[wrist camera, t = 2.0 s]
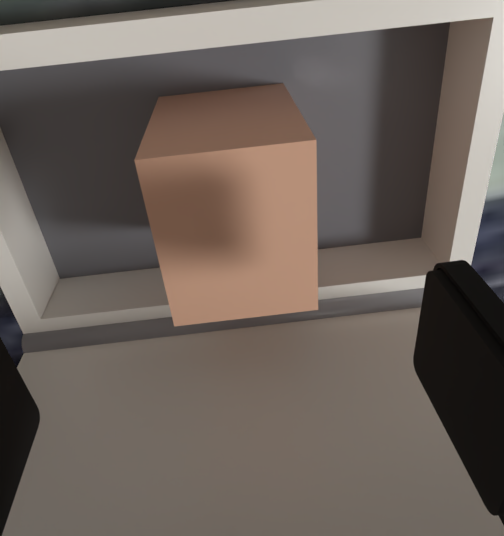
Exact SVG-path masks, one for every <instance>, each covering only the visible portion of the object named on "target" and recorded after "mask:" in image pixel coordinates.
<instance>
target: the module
mask: <svg viewBox="0 0 504 536" xmlns="http://www.w3.org/2000/svg"><path fill="white" fill-rule="evenodd" d="M134 161H135V165H136V169H137V174H138V178H139V182H140V186H141V190H142V194H143V198H144V203H145V207H146V211H147V215H148V219H149V223H150V228H151V232H152V236H153V240H154V244H155V248H156V252H157V257H158V261H159V265H160V269H161V273H162V277H163V282H164V286H165V290H166V294H167V298H168V302H169V307H170V311H171V315H172V319H173V323H174V326H183V325H192V324H200V323H209V322H218V321H226V320H235V319H243V318H252V317H261V316H269V315H278V314H287V313H295V312H304V311H313V310H318V240H317V143H316V138H315V136H314V135H313V133H312V131H311V130H310V128H309V126H308V124H307V123H306V121H305V119H304V118H303V116H302V114H301V112H300V111H299V109H298V107H297V106H296V104H295V102H294V101H293V99H292V97H291V95H290V94H289V92H288V90H287V89H286V87H285V85H284V83H281V84H272V85H262V86H253V87H244V88H235V89H226V90H217V91H208V92H199V93H190V94H180V95H171V96H162V97H158V100H157V102H156V105H155V108H154V110H153V113H152V115H151V118H150V121H149V123H148V126H147V128H146V131H145V134H144V136H143V139H142V141H141V144H140V147H139V149H138V152H137V154H136V157H135V160H134Z"/></svg>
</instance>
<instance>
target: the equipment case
mask: <svg viewBox="0 0 504 536" xmlns="http://www.w3.org/2000/svg"><path fill="white" fill-rule="evenodd" d="M281 83H284V85H285V87H286V89H287V90H288V92H289V94H290V95H291V97H292V99H293V101H294V102H295V104H296V106H297V107H298V109H299V111H300V112H301V114H302V116H303V118H304V119H305V121H306V123H307V124H308V126H309V128H310V130H311V131H312V133H313V135H314V136H315V138H316V143H317V240H318V310H313V311H304V312H295V313H287V314H278V315H269V316H261V317H252V318H243V319H235V320H226V321H218V322H209V323H200V324H192V325H183V326H174V323H173V319H172V315H171V311H170V307H169V302H168V298H167V294H166V290H165V286H164V282H163V277H162V273H161V269H160V265H159V261H158V257H157V252H156V248H155V244H154V240H153V236H152V232H151V228H150V223H149V219H148V215H147V211H146V207H145V203H144V198H143V194H142V190H141V186H140V182H139V178H138V174H137V169H136V165H135V161H134V160H135V157H136V154H137V152H138V149H139V147H140V144H141V141H142V139H143V136H144V134H145V131H146V128H147V126H148V123H149V121H150V118H151V115H152V113H153V110H154V108H155V105H156V102H157V100H158V97H162V96H171V95H180V94H190V93H199V92H208V91H217V90H226V89H235V88H244V87H253V86H262V85H272V84H281ZM503 113H504V0H235V1H225V2H216V3H207V4H197V5H188V6H179V7H169V8H160V9H151V10H142V11H132V12H123V13H114V14H104V15H95V16H86V17H77V18H67V19H58V20H49V21H39V22H30V23H21V24H11V25H2V26H0V287H1V289H2V291H3V293H4V295H5V297H6V299H7V301H8V303H9V305H10V307H11V309H12V311H13V314H14V316H15V318H16V320H17V322H18V324H19V326H20V328H21V330H22V332H23V337H22V349H23V352H24V354H23V356H22V358H21V360H20V362H19V364H18V367H17V369H18V371H19V373H20V375H21V377H22V379H23V381H24V382H25V384H26V386H27V388H28V390H29V392H30V394H31V395H32V397H33V399H34V401H35V403H36V405H37V407H38V409H39V413H40V423H39V427H38V430H37V433H36V436H35V439H34V441H33V444H32V447H31V450H30V453H29V456H28V459H27V462H26V465H25V468H24V471H23V474H22V477H21V480H20V483H19V486H18V489H17V492H16V495H15V498H14V501H13V504H12V507H11V510H10V513H9V516H8V519H7V522H6V525H5V528H4V530H3V533H2V536H504V525H503V523H502V521H501V519H500V518H499V516H498V515H497V516H493V515H492V514H490V512H489V511H488V510H487V508H486V507H485V505H484V503H483V501H482V499H481V497H480V495H479V493H478V491H477V490H476V488H475V486H474V484H473V482H472V480H471V478H470V476H469V474H468V472H467V470H466V468H465V466H464V465H463V463H462V461H461V459H460V457H459V455H458V453H457V451H456V449H455V447H454V445H453V443H452V441H451V440H450V438H449V436H448V434H447V432H446V430H445V428H444V426H443V424H442V422H441V420H440V418H439V416H438V415H437V413H436V411H435V409H434V407H433V405H432V403H431V401H430V399H429V397H428V395H427V393H426V391H425V390H424V388H423V386H422V384H421V382H420V380H419V378H418V376H417V374H416V372H415V368H414V364H413V356H414V349H415V343H416V337H417V330H418V324H419V317H420V311H421V305H422V298H423V292H424V285H425V279H426V274H427V272H428V271H432V270H433V269H434V266H435V265H436V264H437V263H442V262H450V261H458V260H465V261H466V262H468V263H469V264H470V265H471V263H472V258H473V254H474V249H475V244H476V240H477V235H478V230H479V225H480V221H481V216H482V211H483V207H484V202H485V197H486V193H487V188H488V183H489V178H490V174H491V169H492V164H493V160H494V155H495V150H496V146H497V141H498V136H499V131H500V127H501V122H502V117H503Z"/></svg>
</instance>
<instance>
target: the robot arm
mask: <svg viewBox="0 0 504 536" xmlns="http://www.w3.org/2000/svg"><path fill="white" fill-rule="evenodd" d="M413 364H414V368H415V372H416V374H417V376H418V378H419V380H420V382H421V384H422V386H423V388H424V390H425V391H426V393H427V395H428V397H429V399H430V401H431V403H432V405H433V407H434V409H435V411H436V413H437V415H438V416H439V418H440V420H441V422H442V424H443V426H444V428H445V430H446V432H447V434H448V436H449V438H450V440H451V441H452V443H453V445H454V447H455V449H456V451H457V453H458V455H459V457H460V459H461V461H462V463H463V465H464V466H465V468H466V470H467V472H468V474H469V476H470V478H471V480H472V482H473V484H474V486H475V488H476V490H477V491H478V493H479V495H480V497H481V499H482V501H483V503H484V505H485V507H486V508H487V510H488V511H489V512H490V514H492V515H493V516H497V515H498V516H499V518H500V519H501V521H502V523H503V525H504V303H503V302H502V301H501V300H500V299H499V298H498V296H497V295H496V294H495V293H494V292H493V291H492V289H491V288H490V287H489V286H488V285H487V284H486V283H485V281H484V280H483V279H482V278H481V277H480V276H479V275H478V273H477V272H476V271H475V270H474V269H473V268H472V267H471V265H470V264H469V263H468V262H466V261H465V260H458V261H450V262H442V263H437V264H436V265H435V266H434V269H433V270H432V271H428V272H427V274H426V279H425V285H424V292H423V298H422V305H421V311H420V317H419V324H418V330H417V337H416V343H415V349H414V356H413ZM39 423H40V413H39V409H38V407H37V405H36V403H35V401H34V399H33V397H32V395H31V394H30V392H29V390H28V388H27V386H26V384H25V382H24V381H23V379H22V377H21V375H20V373H19V371H18V369H17V368H16V366H15V364H14V362H13V360H12V358H11V357H10V355H9V353H8V351H7V349H6V347H5V345H4V344H3V342H2V340H1V338H0V536H2V533H3V530H4V528H5V525H6V522H7V519H8V516H9V513H10V510H11V507H12V504H13V501H14V498H15V495H16V492H17V489H18V486H19V483H20V480H21V477H22V474H23V471H24V468H25V465H26V462H27V459H28V456H29V453H30V450H31V447H32V444H33V441H34V439H35V436H36V433H37V430H38V427H39Z"/></svg>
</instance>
